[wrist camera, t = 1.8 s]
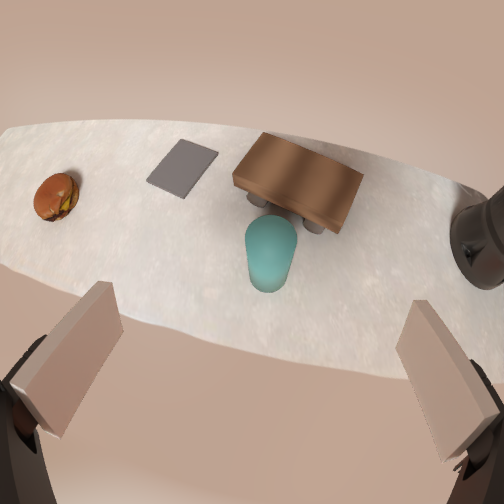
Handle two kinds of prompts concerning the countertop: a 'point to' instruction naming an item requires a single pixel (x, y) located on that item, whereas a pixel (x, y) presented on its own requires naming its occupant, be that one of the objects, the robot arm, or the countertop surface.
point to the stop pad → (182, 168)
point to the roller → (269, 251)
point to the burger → (56, 197)
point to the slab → (298, 182)
